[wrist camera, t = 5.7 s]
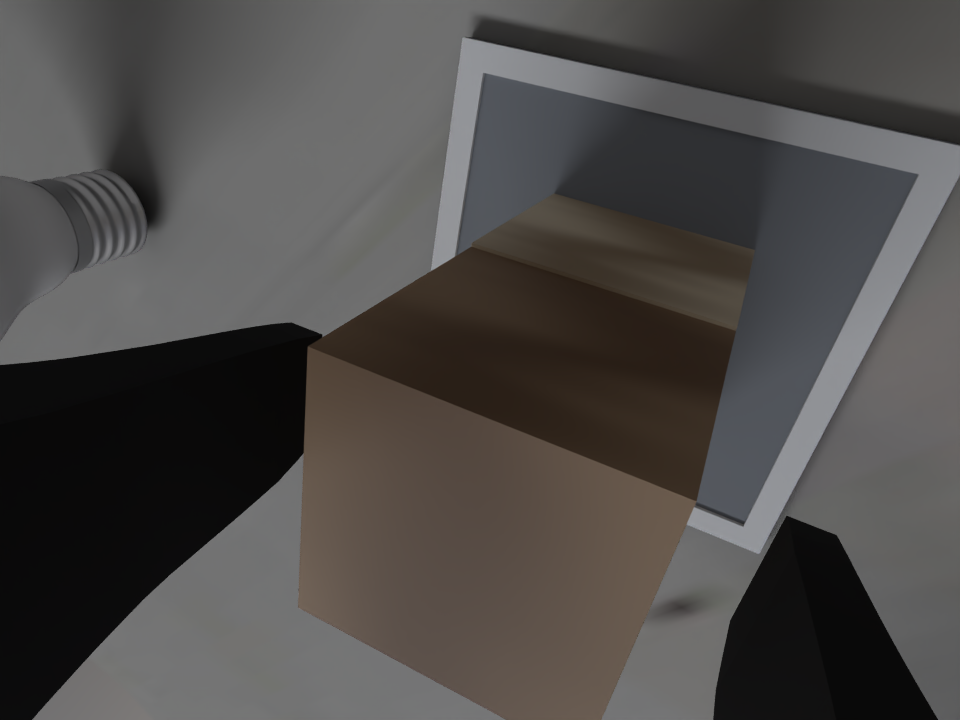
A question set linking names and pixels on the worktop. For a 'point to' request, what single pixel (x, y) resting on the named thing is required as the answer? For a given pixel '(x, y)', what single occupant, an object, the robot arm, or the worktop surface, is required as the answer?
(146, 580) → the robot arm
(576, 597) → the walnut block
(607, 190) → the grey square tray
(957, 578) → the worktop surface
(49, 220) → the lightbulb
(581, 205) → the beech block
